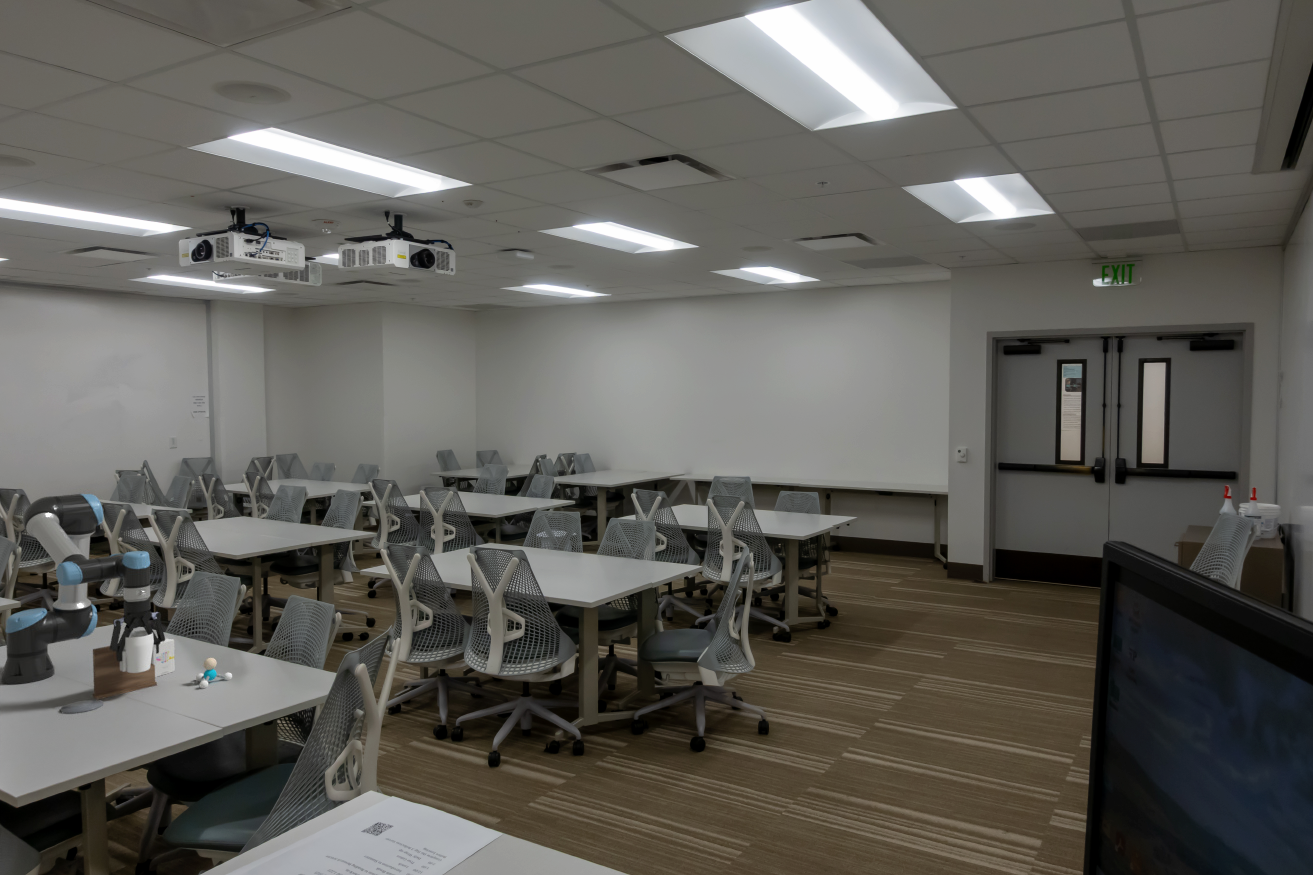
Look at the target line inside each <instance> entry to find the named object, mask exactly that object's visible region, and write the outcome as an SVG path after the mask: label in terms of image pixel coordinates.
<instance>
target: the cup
mask: <svg viewBox="0 0 1313 875" xmlns="http://www.w3.org/2000/svg"><path fill="white" fill-rule="evenodd" d="M153 643H154V638H153V633H152V634H150V635H148V634H147V632H146V630H145V629H144V630H133V631H132V632H131V634H130V636H129V638H128V637H125V647H124V649H123V651H126V671H127V672H129V673H139V672H144V671H147V670H149V669H150V665H151V658H152V651H153Z"/></svg>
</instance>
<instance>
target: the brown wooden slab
mask: <svg viewBox="0 0 1313 875" xmlns="http://www.w3.org/2000/svg"><path fill="white" fill-rule="evenodd" d="M92 662H93V663H92V664H93V665H92V666H93V669H92V670H93V693H92V698H94V699H95V700H101V699H105V698H106V699H107V698H110V697H115V696H117V695H121V694H126V693H130V692H134V691H139V690H142V689H146V688H150V687H151V688H152V687H156V686H158V685H157V684H158V683H157V681H156V677H155V665H153V664H151V665H150V669H149V670H147V671H144V672H139V673H129V672H127V671H124V672H123V671H121V670H120V662H118V661H117V656H116V651H112V650H110V645H108V646H102V647H97V648H92Z"/></svg>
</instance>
